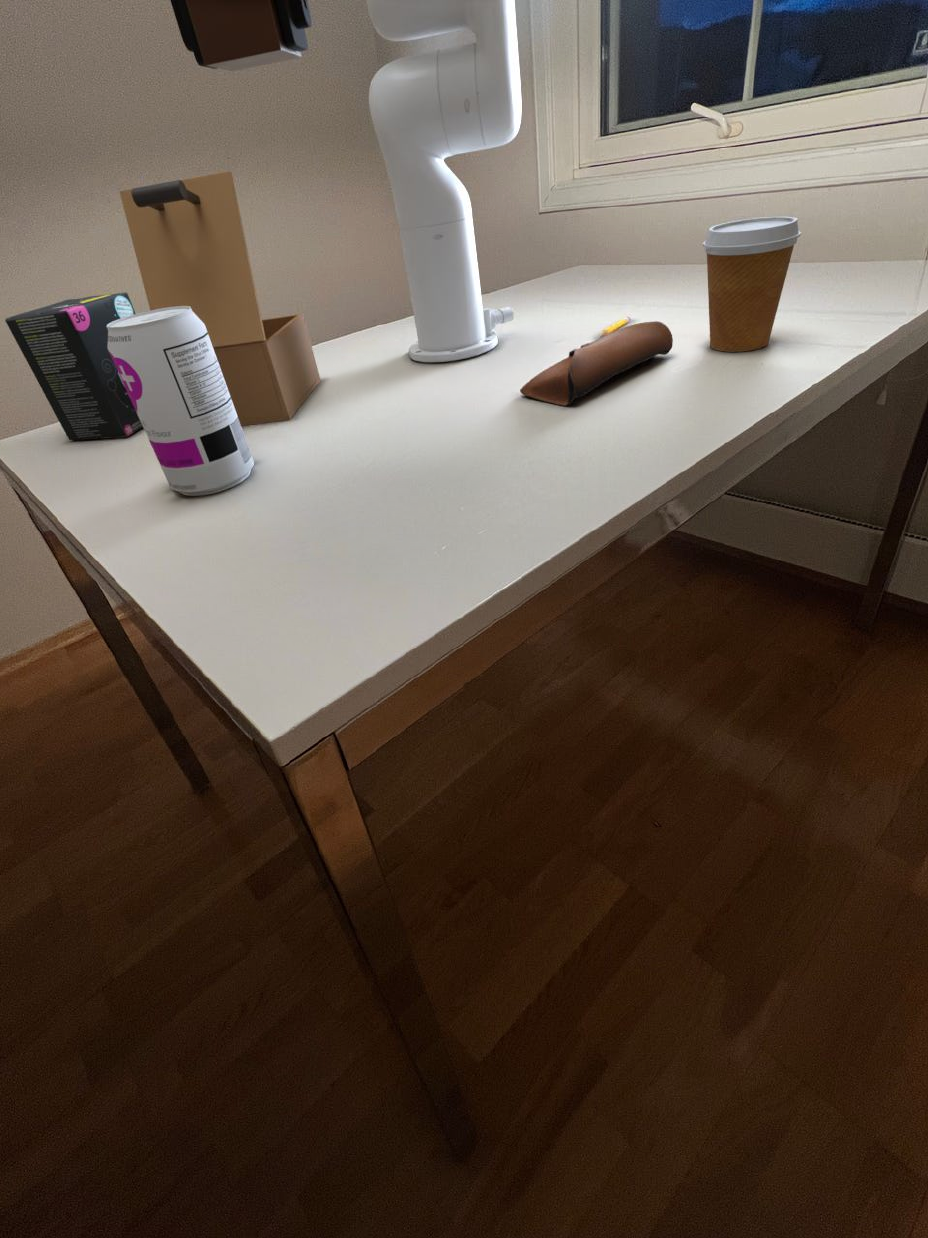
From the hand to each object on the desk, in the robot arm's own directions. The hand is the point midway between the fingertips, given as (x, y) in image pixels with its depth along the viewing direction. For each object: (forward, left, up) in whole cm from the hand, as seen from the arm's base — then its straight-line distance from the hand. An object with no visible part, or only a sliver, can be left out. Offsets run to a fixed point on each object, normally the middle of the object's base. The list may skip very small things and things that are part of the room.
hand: (253, 52), depth 37 cm
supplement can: (+9, -16, -29) cm, 34 cm away
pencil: (-48, -22, -29) cm, 60 cm away
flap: (+1, -33, -12) cm, 35 cm away
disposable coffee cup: (-50, -3, -29) cm, 58 cm away
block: (0, 0, 0) cm, 0 cm away
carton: (-2, -37, -29) cm, 47 cm away
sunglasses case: (-33, -8, -29) cm, 44 cm away
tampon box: (+14, -47, -29) cm, 57 cm away
